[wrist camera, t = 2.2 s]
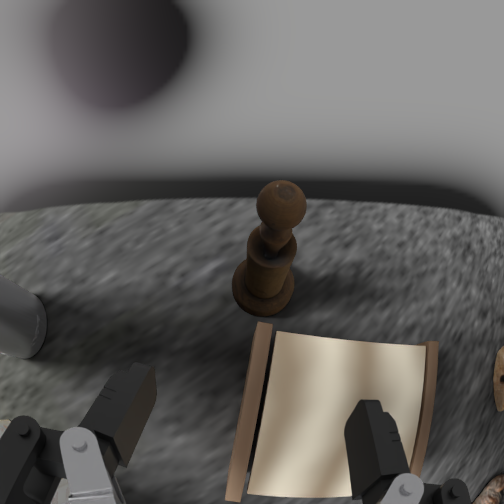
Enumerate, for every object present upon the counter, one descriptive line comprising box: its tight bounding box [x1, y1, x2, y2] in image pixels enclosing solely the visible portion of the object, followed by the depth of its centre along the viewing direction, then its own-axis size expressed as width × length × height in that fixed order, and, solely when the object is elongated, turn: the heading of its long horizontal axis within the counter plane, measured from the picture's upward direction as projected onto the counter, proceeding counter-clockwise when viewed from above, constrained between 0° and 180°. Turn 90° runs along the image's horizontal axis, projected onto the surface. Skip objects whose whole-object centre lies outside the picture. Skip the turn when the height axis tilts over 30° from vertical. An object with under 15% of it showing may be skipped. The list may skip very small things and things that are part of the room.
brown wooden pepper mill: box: [232, 180, 307, 317], centre depth 24 cm, size 7×6×18 cm
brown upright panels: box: [225, 322, 439, 502], centre depth 23 cm, size 17×16×8 cm
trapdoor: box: [247, 331, 426, 498], centre depth 22 cm, size 14×14×6 cm
